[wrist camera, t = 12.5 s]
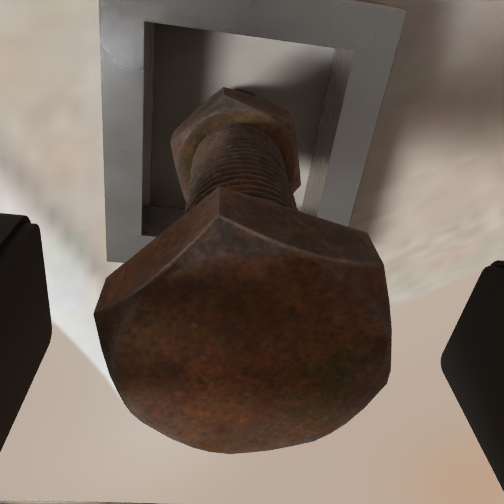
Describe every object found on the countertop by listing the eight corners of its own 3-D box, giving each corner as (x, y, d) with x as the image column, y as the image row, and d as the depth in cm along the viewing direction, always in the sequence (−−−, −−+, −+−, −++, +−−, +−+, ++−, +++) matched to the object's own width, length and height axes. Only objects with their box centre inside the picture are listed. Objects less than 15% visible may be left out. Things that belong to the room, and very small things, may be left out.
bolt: (316, 91, 21) (467, 301, 8) (273, 191, 23) (336, 475, 10) (188, 42, 19) (119, 197, 7) (157, 153, 22) (62, 426, 9)
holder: (382, 4, 19) (407, 10, 16) (322, 247, 25) (333, 279, 22) (115, -37, 18) (97, -37, 15) (119, 229, 24) (107, 261, 21)
